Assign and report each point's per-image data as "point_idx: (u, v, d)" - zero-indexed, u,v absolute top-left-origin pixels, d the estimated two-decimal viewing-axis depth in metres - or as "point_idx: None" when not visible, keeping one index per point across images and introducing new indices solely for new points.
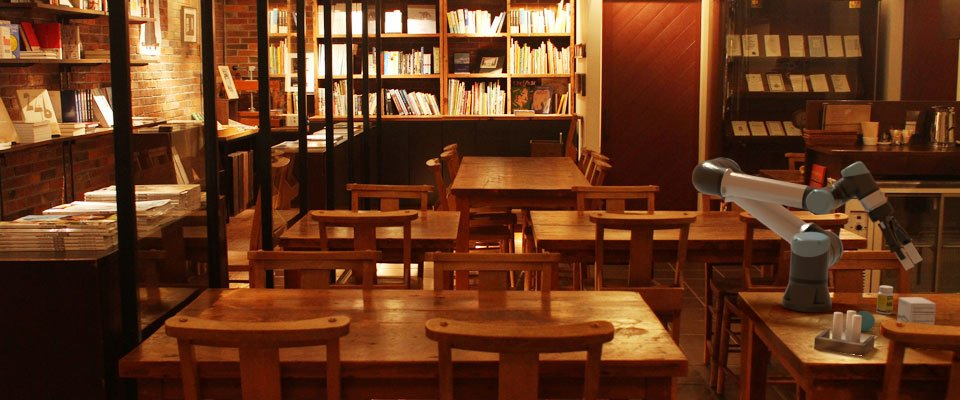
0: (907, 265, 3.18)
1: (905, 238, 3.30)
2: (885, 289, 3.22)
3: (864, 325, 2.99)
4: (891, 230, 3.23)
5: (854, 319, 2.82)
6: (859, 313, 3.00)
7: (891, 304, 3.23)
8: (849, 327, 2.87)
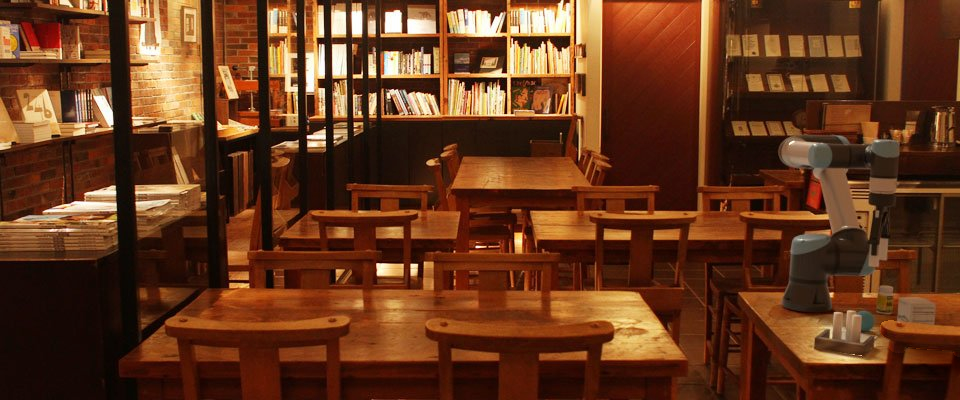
0: (873, 262, 3.02)
1: (885, 233, 3.12)
2: (885, 289, 3.22)
3: (864, 325, 2.99)
4: (880, 222, 3.03)
5: (854, 319, 2.82)
6: (859, 313, 3.00)
7: (891, 304, 3.23)
8: (849, 327, 2.87)
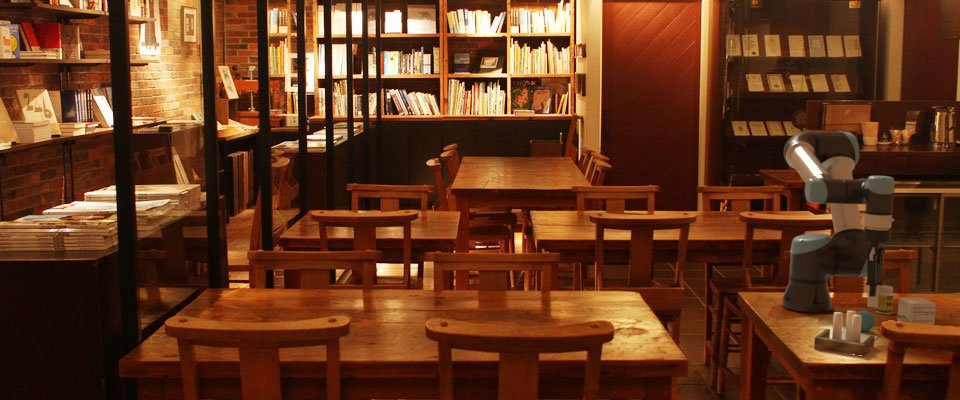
0: (871, 303, 3.08)
1: (877, 276, 3.08)
2: (885, 289, 3.22)
3: (864, 325, 2.99)
4: (876, 261, 3.05)
5: (854, 319, 2.82)
6: (859, 313, 3.00)
7: (891, 304, 3.23)
8: (849, 327, 2.87)
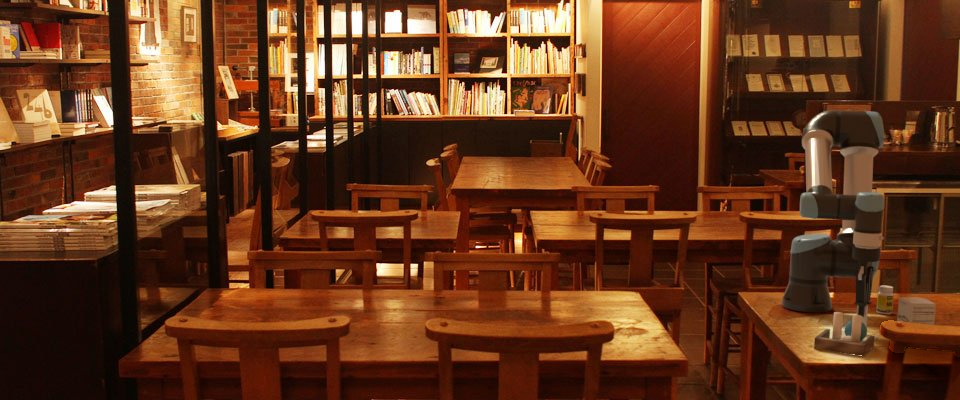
0: None
1: (866, 295, 2.98)
2: (885, 289, 3.22)
3: None
4: (865, 281, 2.95)
5: (854, 319, 2.82)
6: None
7: (891, 304, 3.23)
8: None
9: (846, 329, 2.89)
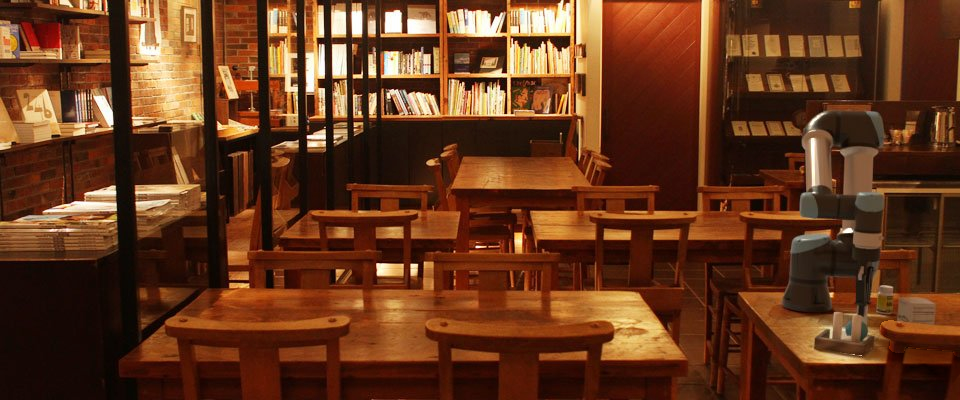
0: None
1: (866, 295, 2.98)
2: (885, 289, 3.22)
3: None
4: (865, 281, 2.95)
5: (854, 319, 2.82)
6: None
7: (891, 304, 3.23)
8: None
9: (847, 327, 2.90)
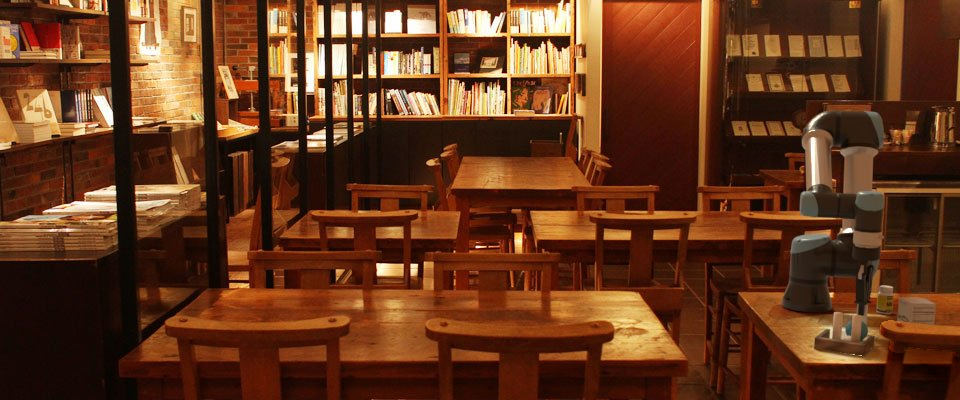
0: None
1: (866, 294, 2.98)
2: (885, 289, 3.22)
3: None
4: (865, 280, 2.95)
5: (854, 319, 2.82)
6: None
7: (891, 304, 3.23)
8: None
9: (847, 327, 2.90)
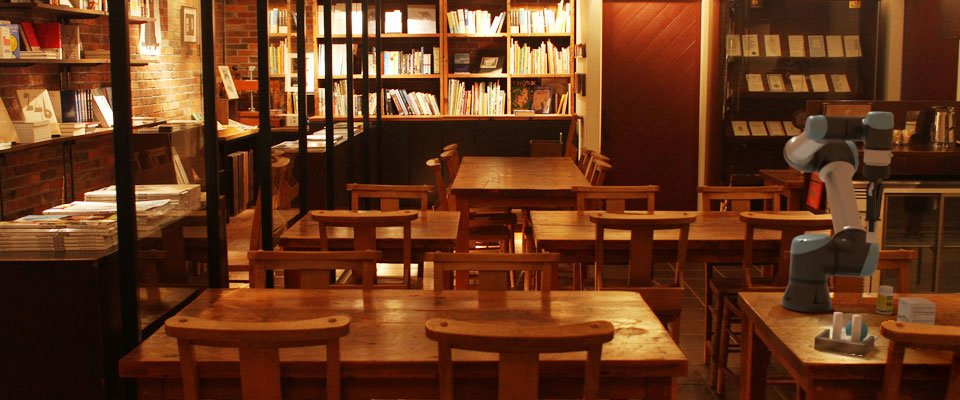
0: (870, 239, 3.09)
1: (876, 212, 3.08)
2: (885, 289, 3.22)
3: None
4: (875, 197, 3.06)
5: (854, 319, 2.82)
6: None
7: (891, 304, 3.23)
8: None
9: (847, 327, 2.90)
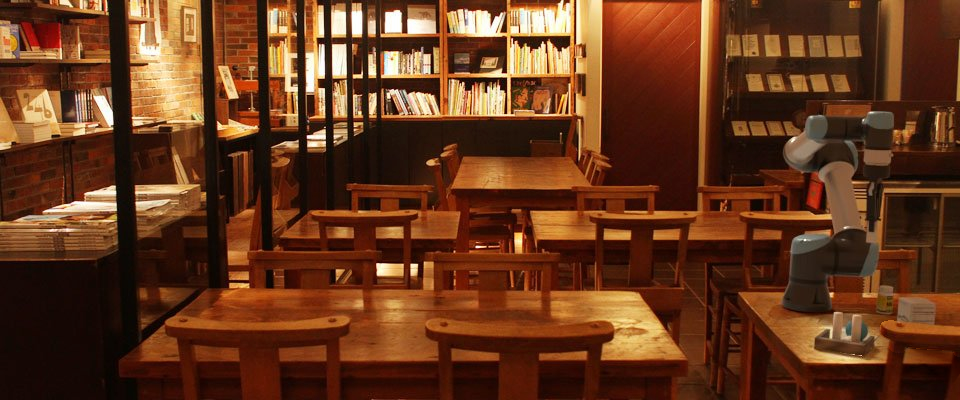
0: (870, 238, 3.09)
1: (876, 211, 3.09)
2: (885, 289, 3.22)
3: None
4: (875, 197, 3.06)
5: (854, 319, 2.82)
6: None
7: (891, 304, 3.23)
8: None
9: (847, 327, 2.90)
